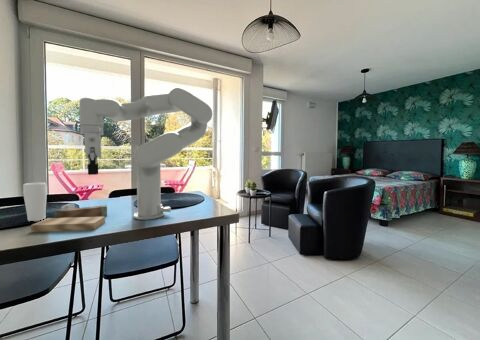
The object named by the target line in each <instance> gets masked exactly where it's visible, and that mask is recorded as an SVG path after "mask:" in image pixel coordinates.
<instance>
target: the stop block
mask: <svg viewBox="0 0 480 340" xmlns="http://www.w3.org/2000/svg"><path fill="white" fill-rule="evenodd" d="M74 208H76V204H75V203H72V202H71V203H67V204H64V205H61V209H64V210H65V209H74Z"/></svg>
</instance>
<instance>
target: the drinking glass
mask: <svg viewBox="0 0 480 340" xmlns="http://www.w3.org/2000/svg"><path fill="white" fill-rule="evenodd" d="M47 187H48V186H47V182H45V181H44V182H43V181H42V182H40V181H38V182H28V183H23V185H22V192H23V199H24V204H25V211H26V216H27V221H28V222H30V221H34V222H40V220H41V221H42V220H43V219H47V218H46V217H47V213H46V212H47V211H46V209H47V197H48V196H47V194H48V192H47V191H48V188H47Z"/></svg>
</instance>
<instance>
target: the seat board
mask: <svg viewBox="0 0 480 340" xmlns="http://www.w3.org/2000/svg"><path fill="white" fill-rule="evenodd" d="M105 223H106V216H100V217H71V218H55V217H47V218H45V219H44V220H41V221H36V223H32V224H31V225H30V232H31V233H47V232H49V233H50V232H71V231H72V232H74V231H75V232H76V231H77V232H78V231H95V230H97V229H98V228H100V227H101V226H103V225H104V224H105Z"/></svg>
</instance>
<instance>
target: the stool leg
mask: <svg viewBox="0 0 480 340" xmlns="http://www.w3.org/2000/svg"><path fill="white" fill-rule="evenodd" d="M53 212H54V218H71V217H104V216H105V217H107V216H108V206H107V204H105V205H94V206H86V207H77V208H76V207H75V208H74V209H65V210H64V209H62V208H61V209H59V208H58V209H55V210H53Z"/></svg>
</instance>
